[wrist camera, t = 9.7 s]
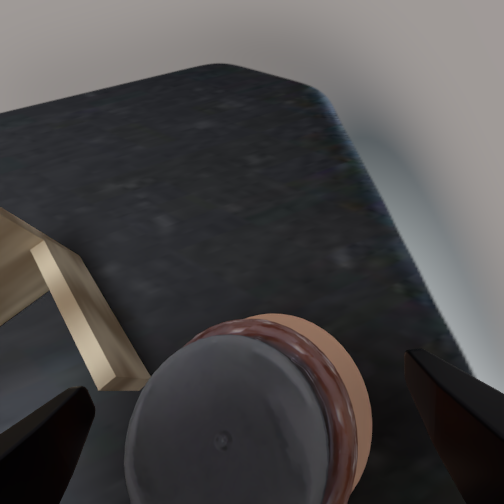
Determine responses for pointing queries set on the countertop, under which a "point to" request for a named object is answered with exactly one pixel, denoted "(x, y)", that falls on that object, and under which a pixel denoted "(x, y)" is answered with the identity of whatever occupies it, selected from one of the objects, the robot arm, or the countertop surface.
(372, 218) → the countertop surface
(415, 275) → the countertop surface
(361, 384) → the peach rounded disc
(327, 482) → the supplement bottle
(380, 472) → the countertop surface
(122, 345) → the wooden bench
